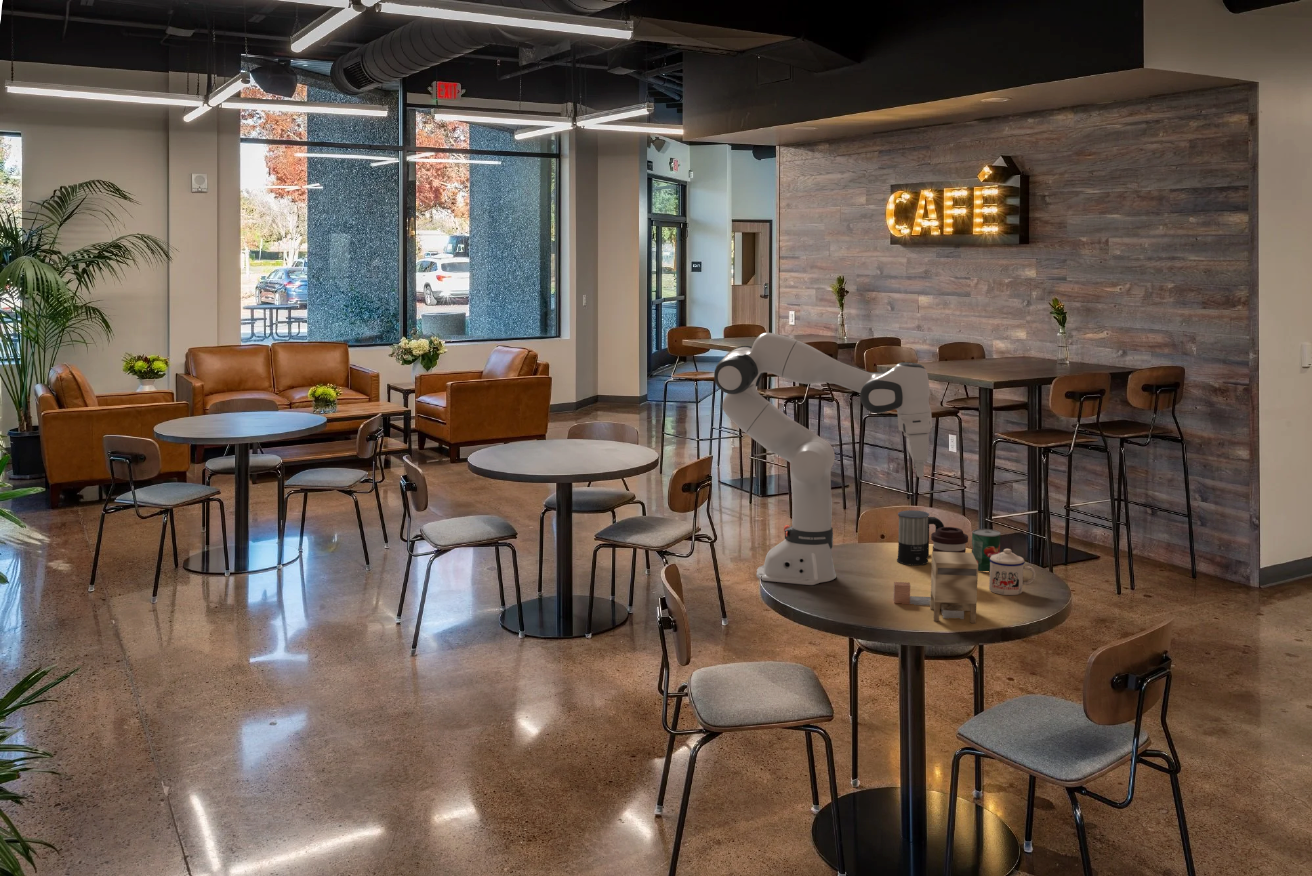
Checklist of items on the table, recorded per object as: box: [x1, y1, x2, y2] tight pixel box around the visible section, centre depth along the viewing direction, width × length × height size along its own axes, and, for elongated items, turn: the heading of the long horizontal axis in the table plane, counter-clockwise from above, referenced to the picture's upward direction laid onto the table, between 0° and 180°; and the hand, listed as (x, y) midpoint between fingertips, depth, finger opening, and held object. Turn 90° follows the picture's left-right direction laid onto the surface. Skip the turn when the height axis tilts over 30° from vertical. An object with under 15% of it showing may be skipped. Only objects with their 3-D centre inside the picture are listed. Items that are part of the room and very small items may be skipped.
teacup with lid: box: [988, 548, 1037, 596], centre depth 298 cm, size 12×9×12 cm
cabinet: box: [929, 550, 979, 624], centre depth 277 cm, size 10×11×15 cm
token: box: [940, 604, 965, 620], centre depth 278 cm, size 5×5×2 cm
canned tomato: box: [971, 528, 1002, 572], centre depth 320 cm, size 8×8×11 cm
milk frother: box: [896, 510, 945, 566], centre depth 331 cm, size 14×16×15 cm
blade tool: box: [892, 581, 931, 606], centre depth 288 cm, size 18×4×5 cm, turn 81°
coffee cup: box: [930, 526, 969, 553], centre depth 307 cm, size 10×10×15 cm
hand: (918, 473), depth 297 cm, fingers open, 8 cm apart
